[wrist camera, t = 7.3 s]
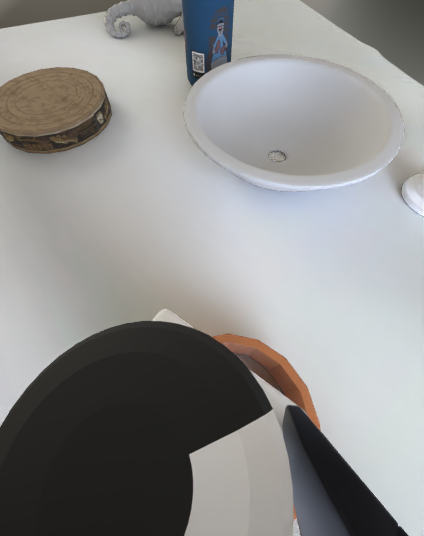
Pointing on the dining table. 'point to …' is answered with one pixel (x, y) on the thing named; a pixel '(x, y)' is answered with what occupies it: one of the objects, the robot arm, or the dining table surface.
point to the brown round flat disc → (53, 109)
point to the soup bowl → (293, 122)
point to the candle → (414, 193)
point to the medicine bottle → (146, 441)
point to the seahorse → (145, 14)
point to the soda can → (207, 35)
